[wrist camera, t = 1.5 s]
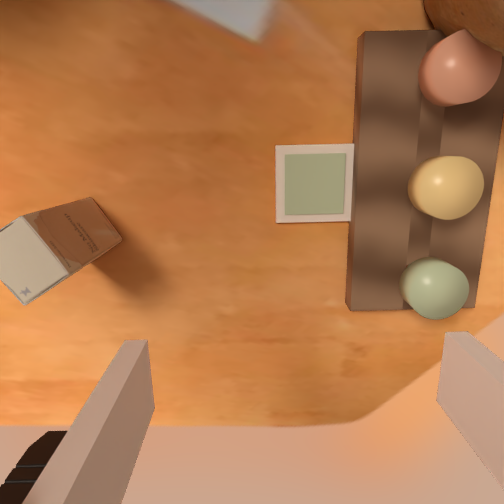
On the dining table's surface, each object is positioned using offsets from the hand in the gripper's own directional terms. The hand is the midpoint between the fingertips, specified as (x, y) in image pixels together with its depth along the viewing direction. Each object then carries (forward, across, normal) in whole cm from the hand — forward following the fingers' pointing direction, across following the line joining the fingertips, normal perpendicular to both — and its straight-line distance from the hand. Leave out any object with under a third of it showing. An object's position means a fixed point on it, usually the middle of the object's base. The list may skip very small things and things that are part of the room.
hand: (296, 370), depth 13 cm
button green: (+22, +14, -4) cm, 26 cm away
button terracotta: (+22, +14, +13) cm, 29 cm away
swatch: (+24, +5, +4) cm, 25 cm away
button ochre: (+22, +14, +4) cm, 26 cm away
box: (+24, -17, 0) cm, 29 cm away
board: (+24, +14, +4) cm, 28 cm away
